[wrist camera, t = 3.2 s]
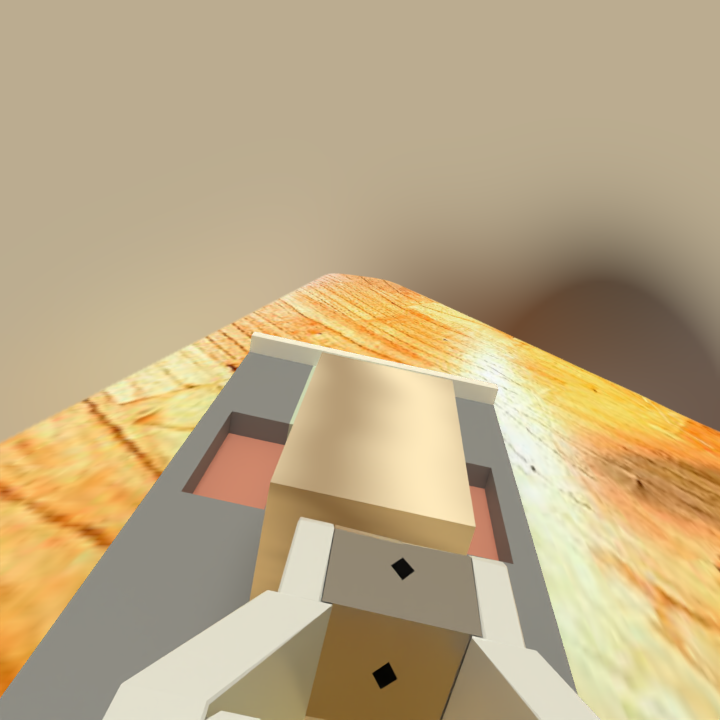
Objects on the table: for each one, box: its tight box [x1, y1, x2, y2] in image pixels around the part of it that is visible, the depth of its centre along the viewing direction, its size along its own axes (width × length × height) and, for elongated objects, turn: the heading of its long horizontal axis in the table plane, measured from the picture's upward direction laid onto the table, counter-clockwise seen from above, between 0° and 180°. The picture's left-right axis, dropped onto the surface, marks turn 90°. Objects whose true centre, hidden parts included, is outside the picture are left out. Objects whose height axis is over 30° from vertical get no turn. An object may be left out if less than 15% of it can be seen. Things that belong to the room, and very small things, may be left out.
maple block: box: [249, 352, 476, 720], centre depth 25 cm, size 6×11×10 cm, turn 175°
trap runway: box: [0, 332, 578, 720], centre depth 37 cm, size 21×36×4 cm, turn 175°
